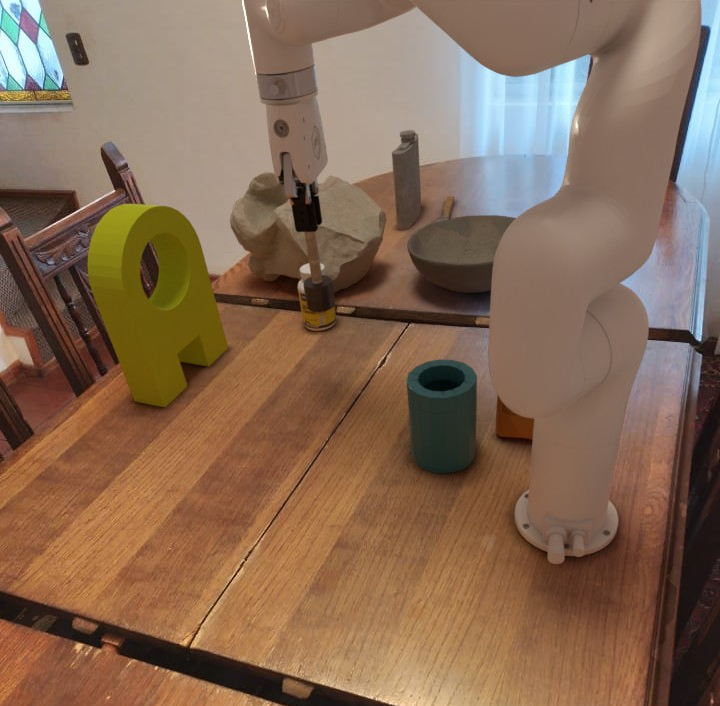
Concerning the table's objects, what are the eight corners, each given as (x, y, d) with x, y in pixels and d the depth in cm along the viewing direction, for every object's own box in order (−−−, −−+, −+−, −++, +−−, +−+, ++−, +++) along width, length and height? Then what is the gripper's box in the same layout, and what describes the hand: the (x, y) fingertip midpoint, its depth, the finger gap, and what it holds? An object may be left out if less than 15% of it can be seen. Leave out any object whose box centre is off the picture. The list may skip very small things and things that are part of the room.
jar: (472, 475, 94) (472, 399, 86) (407, 471, 97) (401, 396, 88) (478, 434, 101) (479, 360, 93) (417, 431, 103) (413, 358, 95)
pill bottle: (297, 329, 132) (287, 273, 124) (314, 313, 136) (305, 258, 128) (326, 334, 129) (317, 277, 122) (342, 318, 133) (335, 262, 126)
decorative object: (165, 407, 116) (103, 236, 96) (134, 401, 118) (68, 233, 99) (228, 348, 129) (185, 187, 109) (199, 343, 131) (153, 185, 112)
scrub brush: (331, 312, 103) (313, 192, 92) (303, 311, 104) (283, 193, 93) (338, 298, 106) (322, 181, 95) (311, 298, 108) (292, 182, 96)
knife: (442, 196, 175) (454, 196, 174) (443, 200, 175) (454, 200, 175) (425, 248, 153) (438, 247, 152) (426, 252, 153) (439, 252, 153)
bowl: (398, 312, 133) (395, 263, 126) (421, 255, 152) (419, 210, 145) (536, 315, 126) (539, 264, 120) (541, 255, 145) (545, 208, 139)
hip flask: (410, 205, 176) (405, 122, 163) (425, 205, 175) (422, 121, 162) (395, 230, 164) (389, 142, 152) (411, 230, 163) (407, 141, 150)
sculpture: (346, 285, 167) (248, 200, 158) (414, 210, 147) (307, 109, 139) (306, 347, 150) (195, 255, 142) (378, 272, 130) (253, 161, 122)
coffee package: (572, 402, 105) (589, 268, 90) (553, 450, 96) (568, 311, 82) (509, 391, 109) (515, 261, 94) (486, 437, 100) (489, 302, 86)
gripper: (297, 98, 79) (319, 250, 91) (331, 68, 90) (347, 206, 102) (238, 102, 81) (267, 250, 93) (278, 72, 92) (300, 208, 104)
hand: (309, 226), depth 97 cm, fingers closed on scrub brush
